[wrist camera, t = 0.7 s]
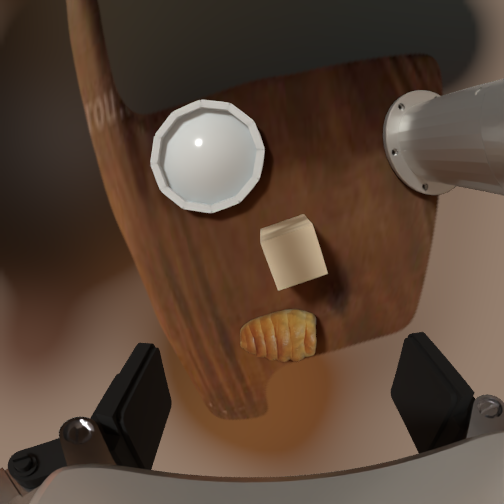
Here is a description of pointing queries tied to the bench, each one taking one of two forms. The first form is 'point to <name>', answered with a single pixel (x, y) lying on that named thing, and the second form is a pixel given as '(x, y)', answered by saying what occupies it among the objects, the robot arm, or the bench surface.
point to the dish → (207, 156)
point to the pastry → (281, 335)
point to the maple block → (292, 252)
